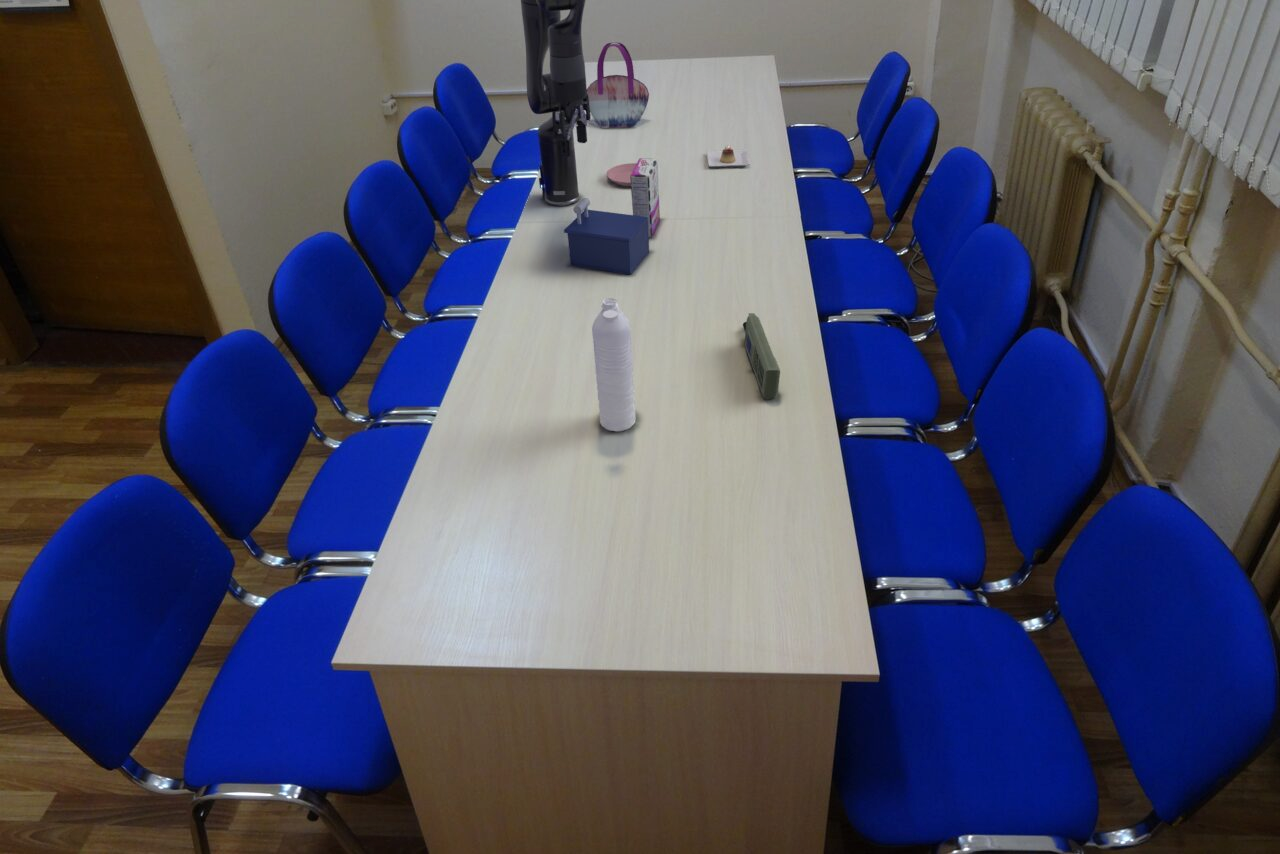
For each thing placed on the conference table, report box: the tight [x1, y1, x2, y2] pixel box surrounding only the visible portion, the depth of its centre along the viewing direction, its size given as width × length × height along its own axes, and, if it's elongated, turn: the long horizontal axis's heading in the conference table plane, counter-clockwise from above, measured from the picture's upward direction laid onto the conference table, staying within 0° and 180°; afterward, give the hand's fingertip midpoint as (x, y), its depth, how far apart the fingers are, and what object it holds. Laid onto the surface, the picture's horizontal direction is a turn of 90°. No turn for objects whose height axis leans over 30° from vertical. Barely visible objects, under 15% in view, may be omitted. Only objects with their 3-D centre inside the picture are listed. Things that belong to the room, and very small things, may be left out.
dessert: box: [706, 144, 751, 168], centre depth 251 cm, size 12×12×5 cm
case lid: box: [563, 197, 648, 242], centre depth 200 cm, size 16×12×5 cm
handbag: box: [587, 41, 650, 129], centre depth 276 cm, size 21×10×25 cm, turn 85°
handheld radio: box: [742, 312, 781, 401], centre depth 167 cm, size 7×3×25 cm
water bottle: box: [591, 297, 636, 432], centre depth 147 cm, size 9×6×25 cm
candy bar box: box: [630, 157, 661, 239], centre depth 214 cm, size 11×5×16 cm, turn 168°
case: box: [566, 221, 650, 275], centre depth 204 cm, size 16×12×8 cm
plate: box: [606, 162, 637, 187], centre depth 244 cm, size 14×14×2 cm
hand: (574, 149), depth 194 cm, fingers open, 8 cm apart
